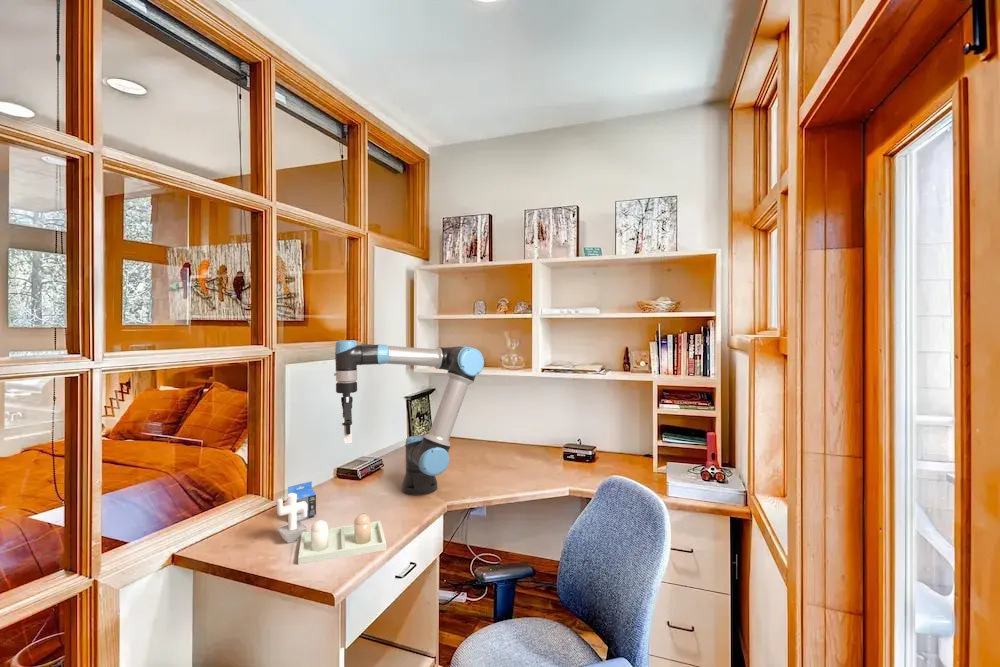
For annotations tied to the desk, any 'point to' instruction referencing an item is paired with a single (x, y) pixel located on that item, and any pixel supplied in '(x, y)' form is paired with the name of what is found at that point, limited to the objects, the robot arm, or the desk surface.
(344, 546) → the tray
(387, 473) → the desk surface
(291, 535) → the figurine
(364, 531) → the tan domed cylinder
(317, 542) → the cream domed cylinder
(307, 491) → the label tape cartridge
